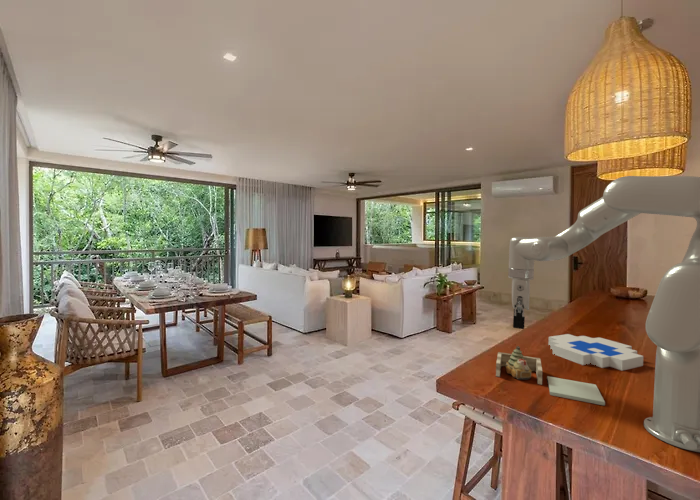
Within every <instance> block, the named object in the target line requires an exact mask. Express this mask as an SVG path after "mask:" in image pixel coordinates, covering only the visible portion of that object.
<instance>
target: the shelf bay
mask: <svg viewBox="0 0 700 500" xmlns="http://www.w3.org/2000/svg"><path fill="white" fill-rule="evenodd" d="M496 356H497V358H496V364H495V377H499V378H500V377H501V370H502V367H506V362H508V361H509V360H510V359H511V358H510V356H512V353H507V352H500V351H498V352H497V355H496ZM523 358H524V360H526V362H527V365H528V367H529V368H530V369H531V372H536V373H535V374H536V381H537V385H543V367H542V359H541V358H540V357H535V356H534V357H532V356H527V355H523Z"/></svg>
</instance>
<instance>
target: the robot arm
mask: <svg viewBox="0 0 700 500" xmlns="http://www.w3.org/2000/svg"><path fill="white" fill-rule="evenodd" d="M577 213H578V214H577V219H576V221H575V222H574V223H573V224H572V225H570V226H569V227H568V228H567V229H565V230H563V231H562V232H560V233H558V234H556V235H555V236H538V237H530V236H529V237H527V236H514V237H511V238H510V240H509V248H508V270H507V271H508V275H507V277H508V278H509V279H511V304H512V305H511V306H512V309H513V316H512V317H513V318H512V319H513V320H512V323H513V324H512V327H513V328H514V329H520V330H524V329H525V322H526V321H525V310H527V311H528V310H530V298H531V297H530V295H531V293H530V292H531V283H530V282H531V281H532V280H534V276H535V274H534V273H535V261H537V262H550V261H559V260H562V259H565V258H567V257H569V256H571V255H573V254H575V253H576V252H579V251H580V250H582V249H585V247H587V246H589V245H590V244H592V243H593V242H594V241H596V240H597V239H599V238H600V237H601V236H602V235H604V234H605V233H608V232H609V231H611V230H612V229H615V228H616V227H618V226H620V225H622V224H624V223H626V222H627V221H629V220H631V219H633V218H636V216H638V215H640V214H647V215H660V216H661V215H662V216H673V217H682V218H683V217H685V218H693V219H695V220H696V221H695V222H696V226H695V229H694V232H693V234H692V235H691V238H690V240H689V244H688V247H687V249H686V252H685V254H684V257H683V258H682V261H681V262H679V263H677V264H675V265H673V266H671V267H670V268H669V269H667V270H666V272H665V273H664V274H663V276H662V277H661V280H660V281H659V284H658V287H657V289H656V292H655V295H654V298H653V300H652V303H651V306H650V308H649V311H648V314H647V316H646V321H645V325H644V326H645V332H646V334H647V336H648V338H649V339H650V341H651V342H652V343H654V345H655V346H657V347H656V351H655V352H656V353H655V366H654V367H655V368H654V385H653V387H654V388H653V402H652V403H653V404H652V405H653V406H652V407H653V408H652V416H649V417H646V418H645V419H644V420H643V427H644V429H646V431H647V432H648V433H649V434H651V435H652V436H654V437H655V438H657V439H659V440H660V441H663V442H665V443H667V444H668V445H671V446H674V447H677V448H680V449H682V450H687V451H691V452H694V453H695V452H696V453H700V176H693V175H692V176H689V175H688V176H687V175H686V176H685V175H682V176H681V175H679V176H676V175H675V176H674V175H673V176H671V175H670V176H669V175H668V176H661V175H660V176H658V175H657V176H653V175H651V176H650V175H649V176H648V175H646V176H644V175H642V176H641V175H625V176H621V177H618V178H615V179H614V180H612V181H611V182H610V183H609V184H607V186H606V187H605V189H604V191H603V194H602V196H601V197H600V198H599V199H597V200H595V201H594V202H592V203H590V204H589V205H587V206H585V207H584V208H582V209H581V210H580V211H579V212H577Z"/></svg>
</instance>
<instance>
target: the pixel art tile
mask: <svg viewBox="0 0 700 500" xmlns="http://www.w3.org/2000/svg"><path fill="white" fill-rule="evenodd" d="M547 345H548V346H549V345H550V348H549V349H550V350H551V349H552V355H554V354H555V355H554V356H556V357H561V358H562V359H566V360H568V361H570V362H573V363H576V364H578V365H581V366H585V365H586V364H587V365H594V366H595V365H596V366H595V367H599V368H601V369H604V368H609V367H610V368H612V369H613V368H614V369H616V370H619V371H626V370H631V369H636V368H640V367H643V366H644V355H641V354H638V350H635V349H632V345H628V344H625V343H621V342H619V341H615V340H611V339H607V338H603V337H599V336H598V337H590V336H586V335H579V336H576V335H573V334H570V333H565V334H560V335H559V334H558V335H553V336H552V335H551V336H548V344H547ZM590 363H591V364H590Z"/></svg>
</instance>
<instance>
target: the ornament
mask: <svg viewBox="0 0 700 500" xmlns="http://www.w3.org/2000/svg"><path fill="white" fill-rule="evenodd" d="M522 353H523V352H522V350H521V347H520V346H519V345H517V346H515V349H513V351H512V352H511V354H512V356H510V358H511V359H510V360H509V361H508V362H506V366H505V371H506V374H508V375H510V376H512V378H514V379H517V380H519V381H520V380H521V381H522V380H530V379H532V371H531V369H530V368H529V367H528V365H527V362H526V360H524V358H523V356H524V354H522Z"/></svg>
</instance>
